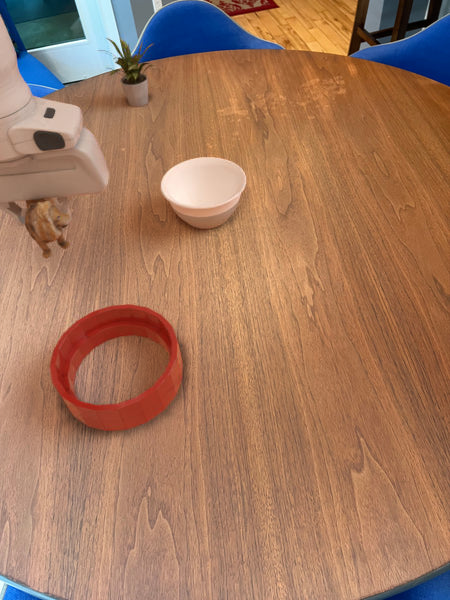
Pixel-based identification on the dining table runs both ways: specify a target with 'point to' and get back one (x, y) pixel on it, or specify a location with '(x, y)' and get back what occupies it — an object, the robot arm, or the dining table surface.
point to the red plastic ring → (100, 330)
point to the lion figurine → (46, 224)
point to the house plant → (132, 75)
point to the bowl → (204, 190)
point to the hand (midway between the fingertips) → (46, 221)
